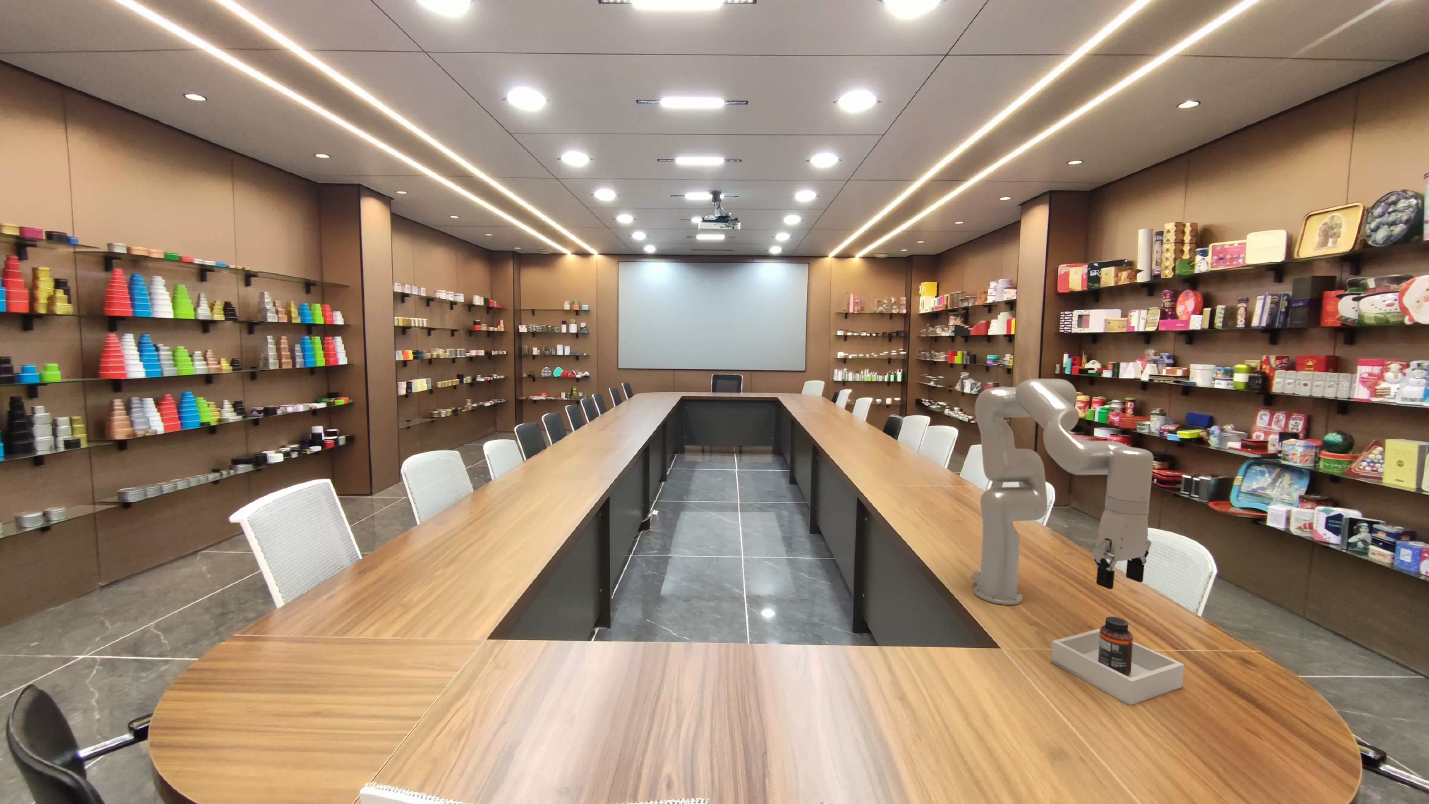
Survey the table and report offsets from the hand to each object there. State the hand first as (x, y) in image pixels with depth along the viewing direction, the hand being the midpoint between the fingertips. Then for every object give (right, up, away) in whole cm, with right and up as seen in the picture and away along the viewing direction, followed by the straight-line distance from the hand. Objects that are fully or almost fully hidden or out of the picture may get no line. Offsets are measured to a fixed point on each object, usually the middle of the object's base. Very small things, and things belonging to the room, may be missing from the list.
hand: (1119, 583), depth 123 cm
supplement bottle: (0, -20, +2) cm, 20 cm away
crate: (0, -20, +1) cm, 20 cm away
